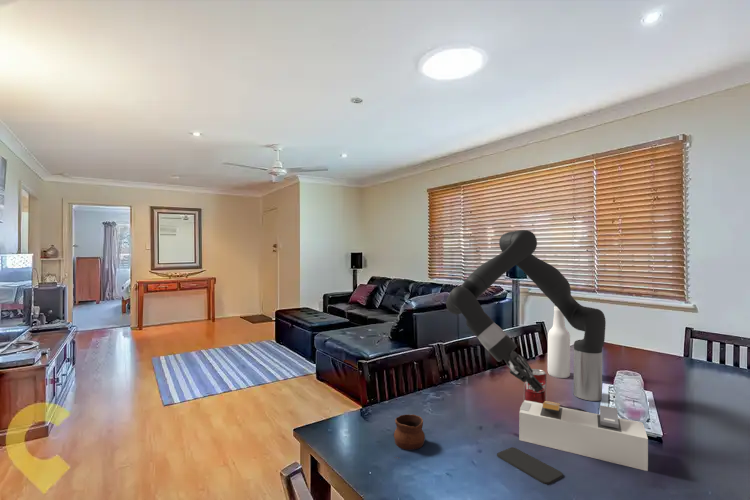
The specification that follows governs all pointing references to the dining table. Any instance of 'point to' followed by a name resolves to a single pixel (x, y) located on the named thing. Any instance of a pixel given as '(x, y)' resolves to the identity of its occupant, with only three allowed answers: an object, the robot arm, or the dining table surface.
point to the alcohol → (558, 347)
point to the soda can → (531, 393)
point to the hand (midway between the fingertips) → (540, 389)
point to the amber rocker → (551, 405)
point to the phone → (530, 465)
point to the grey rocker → (609, 416)
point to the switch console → (584, 434)
